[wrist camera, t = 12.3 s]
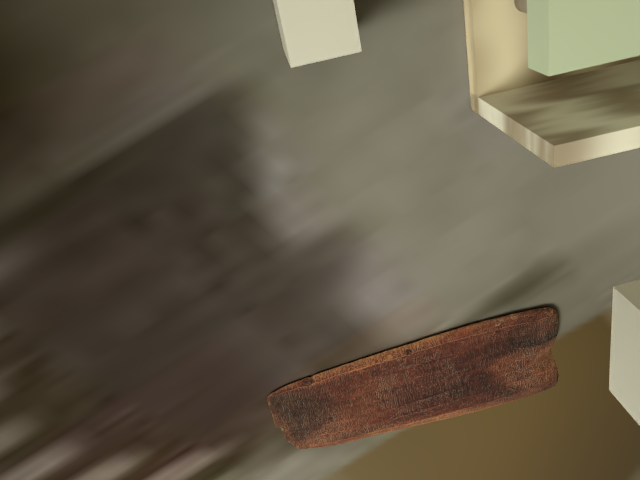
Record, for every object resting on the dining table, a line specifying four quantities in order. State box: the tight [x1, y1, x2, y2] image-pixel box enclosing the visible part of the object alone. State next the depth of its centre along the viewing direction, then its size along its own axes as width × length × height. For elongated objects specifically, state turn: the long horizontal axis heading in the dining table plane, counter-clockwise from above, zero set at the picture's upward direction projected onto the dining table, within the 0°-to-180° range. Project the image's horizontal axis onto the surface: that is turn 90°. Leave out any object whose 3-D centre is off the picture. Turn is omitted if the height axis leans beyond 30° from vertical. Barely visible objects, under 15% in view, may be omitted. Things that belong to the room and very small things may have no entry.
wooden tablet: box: [267, 307, 558, 449], centre depth 51 cm, size 26×2×10 cm
